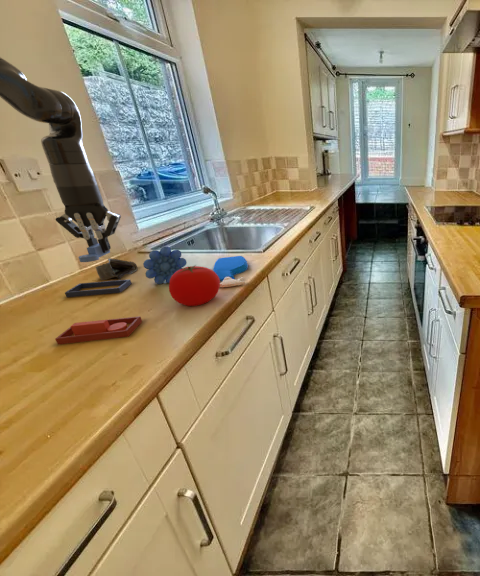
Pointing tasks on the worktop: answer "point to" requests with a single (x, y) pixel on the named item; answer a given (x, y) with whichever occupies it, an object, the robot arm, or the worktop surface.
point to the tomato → (194, 285)
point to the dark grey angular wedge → (115, 269)
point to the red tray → (67, 337)
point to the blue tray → (75, 290)
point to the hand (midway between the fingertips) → (101, 252)
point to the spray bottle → (230, 270)
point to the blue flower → (163, 264)
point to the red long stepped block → (96, 327)
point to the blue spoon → (92, 254)
